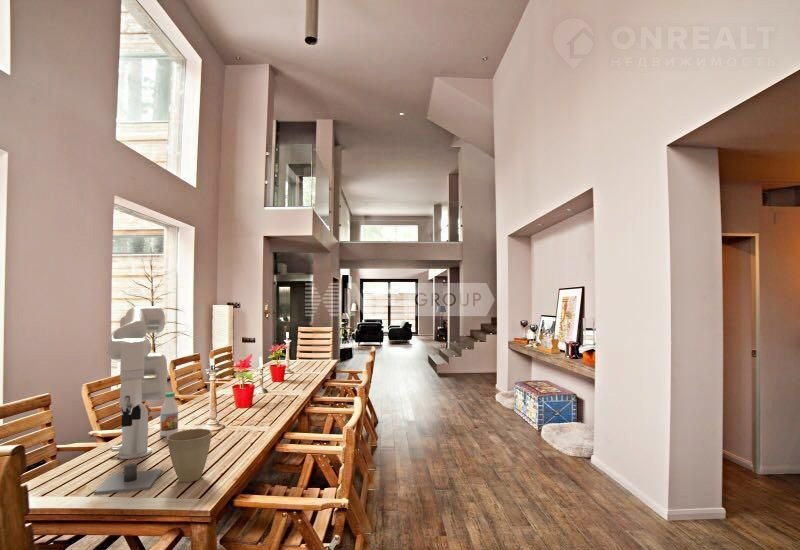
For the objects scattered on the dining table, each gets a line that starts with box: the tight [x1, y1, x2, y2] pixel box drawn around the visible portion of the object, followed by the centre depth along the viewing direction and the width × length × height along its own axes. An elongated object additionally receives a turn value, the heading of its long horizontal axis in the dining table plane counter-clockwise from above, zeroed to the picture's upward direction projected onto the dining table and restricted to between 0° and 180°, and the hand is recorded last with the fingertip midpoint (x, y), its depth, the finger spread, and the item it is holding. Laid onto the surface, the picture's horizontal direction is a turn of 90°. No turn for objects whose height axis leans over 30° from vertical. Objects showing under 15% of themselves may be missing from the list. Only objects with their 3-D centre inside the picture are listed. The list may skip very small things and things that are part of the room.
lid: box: [93, 463, 163, 496], centre depth 167 cm, size 17×17×6 cm
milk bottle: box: [159, 391, 179, 438], centre depth 227 cm, size 8×8×20 cm
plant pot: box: [166, 428, 213, 483], centre depth 170 cm, size 15×15×16 cm
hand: (131, 422), depth 168 cm, fingers open, 9 cm apart
